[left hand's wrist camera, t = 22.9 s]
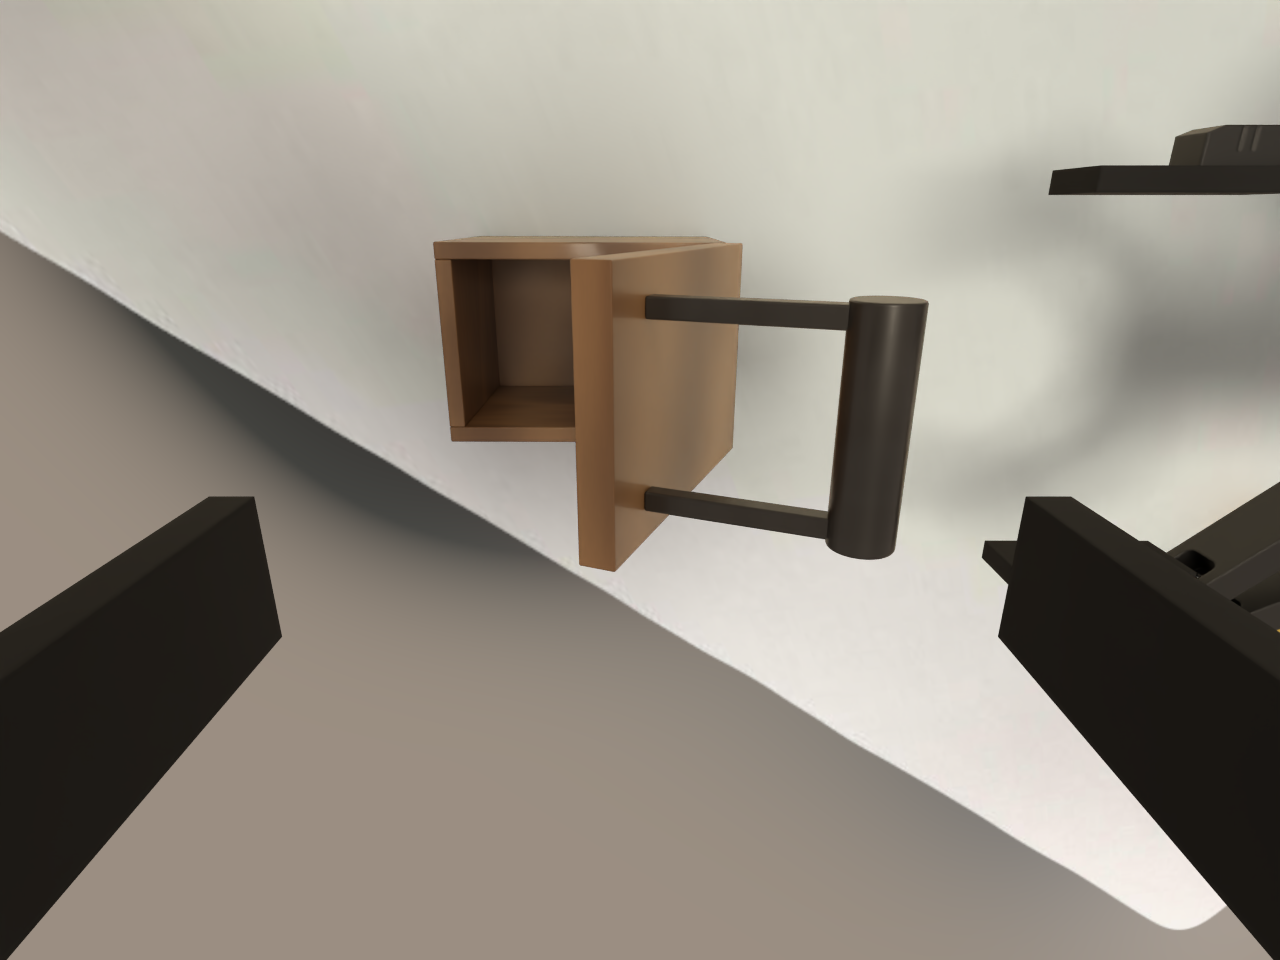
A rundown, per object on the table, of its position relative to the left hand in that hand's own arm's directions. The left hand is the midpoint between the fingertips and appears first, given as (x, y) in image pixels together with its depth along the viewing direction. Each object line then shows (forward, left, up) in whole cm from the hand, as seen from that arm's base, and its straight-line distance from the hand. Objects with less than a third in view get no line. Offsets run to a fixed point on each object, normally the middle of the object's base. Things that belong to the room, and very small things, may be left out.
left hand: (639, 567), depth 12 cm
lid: (+1, 0, -16) cm, 16 cm away
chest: (-2, -2, -32) cm, 32 cm away
